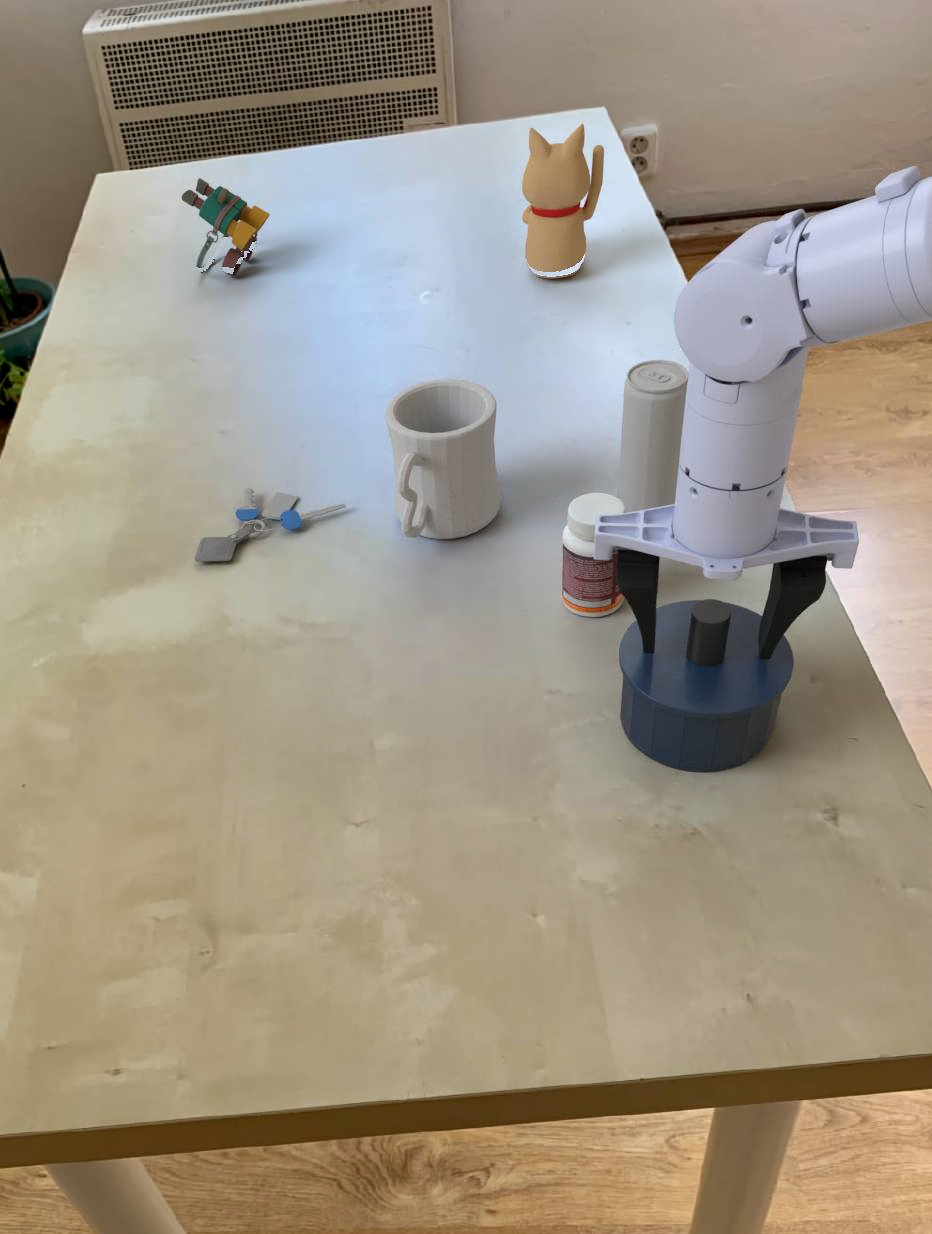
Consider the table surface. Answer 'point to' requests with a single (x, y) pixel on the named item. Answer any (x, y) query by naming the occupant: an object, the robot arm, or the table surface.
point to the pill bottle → (588, 559)
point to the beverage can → (651, 434)
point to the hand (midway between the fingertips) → (705, 645)
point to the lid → (705, 661)
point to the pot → (694, 734)
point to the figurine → (559, 200)
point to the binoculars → (226, 221)
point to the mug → (444, 458)
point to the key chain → (276, 510)
